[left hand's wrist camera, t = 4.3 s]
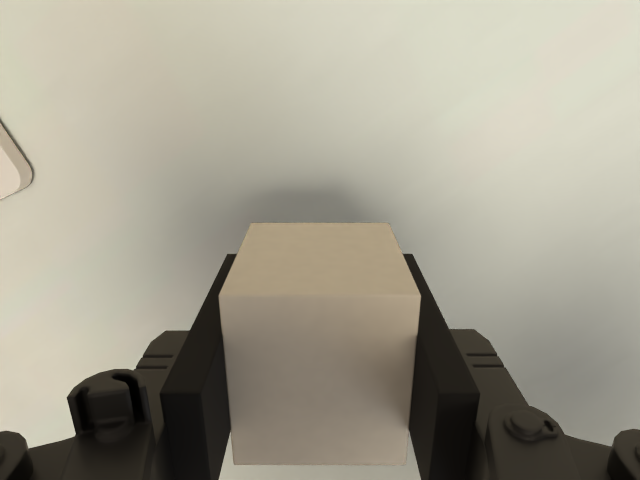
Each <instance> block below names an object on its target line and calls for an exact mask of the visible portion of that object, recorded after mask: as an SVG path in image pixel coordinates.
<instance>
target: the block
mask: <svg viewBox="0 0 640 480" xmlns="http://www.w3.org/2000/svg"><path fill="white" fill-rule="evenodd" d="M420 301H421V295H420V293H419V290H418V288H417V286H416V283H415V281H414V279H413V277H412V274H411V272H410V270H409V268H408V265H407V263H406V261H405V259H404V256H403V254H402V252H401V250H400V247H399V245H398V243H397V240H396V238H395V236H394V234H393V231H392V229H391V227H390V225H389V223H251V224H250V226H249V229H248V231H247V233H246V235H245V238H244V240H243V242H242V244H241V247H240V249H239V251H238V253H237V256H236V258H235V260H234V262H233V265H232V267H231V269H230V271H229V273H228V276H227V278H226V280H225V282H224V285H223V287H222V289H221V291H220V294H219V306H220V318H221V329H222V337H223V348H224V359H225V370H226V382H227V393H228V404H229V415H230V426H231V440H232V451H233V462H234V464H235V465H405V464H406V457H407V446H408V434H409V422H410V410H411V399H412V388H413V377H414V366H415V355H416V344H417V333H418V323H419V312H420Z"/></svg>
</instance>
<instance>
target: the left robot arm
mask: <svg viewBox="0 0 640 480" xmlns="http://www.w3.org/2000/svg"><path fill="white" fill-rule="evenodd" d="M236 256H237V254H227V256H226V258H225V260H224V262H223V264H222V266H221V268H220V270H219V272H218V274H217V276H216V278H215V280H214V283H213V285H212V287H211V289H210V291H209V293H208V295H207V297H206V299H205V301H204V303H203V305H202V307H201V309H200V311H199V313H198V315H197V317H196V319H195V321H194V323H193V325H192V327H191V330H190V331H165V332H164V333H162V334H161V335H160V336H158V337H157V338H156V339H154V340H153V341H152V342H151V343H150V345H149V346H148V348H147V349H146V351H145V353H144V354H143V358H141V359H140V361H139V363H138V364H137V366H136V369H134V371H133V370H129V369H113V370H109V371H105V372H100V373H98V374H96V375H93V376H91V377H89V378H87V379H85V380H84V381H82V382H81V383H80V384H78V385H77V386H75V387H74V388H73V390H72V391H71V392H70V394H69V395H68V397H67V400H68V404H69V408H70V412H71V416H72V420H73V424H74V428H75V432H76V435H75V437H72V438H69V439H66V440H62V441H59V442H54V443H50V444H46V445H42V446H38V447H33V448H29V449H28V446H27V443H26V439H25V438H24V437H22V436H21V435H20V434H19V433H15V432H10V431H2V432H0V480H218V479H219V475H220V471H221V467H222V463H223V459H224V455H225V451H226V447H227V443H228V439H229V434H230V430H231V426H230V415H229V404H228V393H227V382H226V370H225V359H224V348H223V337H222V329H221V318H220V306H219V294H220V291H221V289H222V287H223V285H224V282H225V280H226V278H227V276H228V273H229V271H230V269H231V267H232V265H233V262H234V260H235V258H236ZM403 256H404V259H405V261H406V263H407V265H408V268H409V270H410V272H411V274H412V277H413V279H414V281H415V283H416V286H417V288H418V290H419V293H420V295H421V301H420V312H419V323H418V333H417V344H416V355H415V366H414V377H413V388H412V399H411V410H410V422H409V432H410V436H411V440H412V444H413V448H414V452H415V456H416V460H417V464H418V468H419V473H420V477H421V480H640V430H637V429H631V430H625V431H621V432H620V433H619V434H618V435H617V436H616V437H615V438H614V441H613V445H612V447H610V446H606V445H602V444H598V443H593V442H589V441H585V440H581V439H577V438H574V437H570V436H567V435H565V434H564V432H563V431H562V429H561V428H560V426H559V424H558V423H557V422H556V421H555V420H553V419H552V418H551V417H550V416H549V415H548V414H546V413H544V412H542V411H540V410H538V409H536V408H534V407H532V406H529V405H528V404H527V402H526V400H525V399H524V397H523V395H522V394H521V392H520V390H519V389H518V387H517V386H516V384H515V382H514V381H513V379H512V377H511V376H510V374H509V373H508V371H507V369H506V368H504V364H503V363H502V361H501V360H500V358H499V356H497V353H496V351H495V350H494V348H493V347H492V345H491V343H490V342H489V340H487V339H486V338H485V337H483V336H482V335H481V334H479V333H478V332H477V331H476V330H474V329H449V328H448V326H447V324H446V322H445V320H444V318H443V316H442V314H441V312H440V310H439V308H438V306H437V304H436V302H435V300H434V297H433V295H432V293H431V291H430V289H429V287H428V285H427V283H426V281H425V279H424V277H423V275H422V273H421V271H420V269H419V267H418V265H417V263H416V261H415V259H414V257H413V255H412V254H403Z"/></svg>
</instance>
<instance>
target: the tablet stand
mask: <svg viewBox="0 0 640 480" xmlns="http://www.w3.org/2000/svg"><path fill="white" fill-rule="evenodd" d="M31 180H32V171H31V168H30V166H29V164H28V163H27V161H26V160H25V159H24V157H23V156H22V154H21V153H20V151H19V150H18V148H17V147H16V145H15V144H14V143H13V141H12V140H11V138H10V137H9V135H8V134H7V132H6V131H5V129H4V128H3V127H2V125H1V124H0V200H1V199H3V198H5V197H7V196H9V195H11V194H13V193H15V192H18V191H20V190H22V189H24V188H26V187H27V186H28V185H29V184H30V182H31Z"/></svg>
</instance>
